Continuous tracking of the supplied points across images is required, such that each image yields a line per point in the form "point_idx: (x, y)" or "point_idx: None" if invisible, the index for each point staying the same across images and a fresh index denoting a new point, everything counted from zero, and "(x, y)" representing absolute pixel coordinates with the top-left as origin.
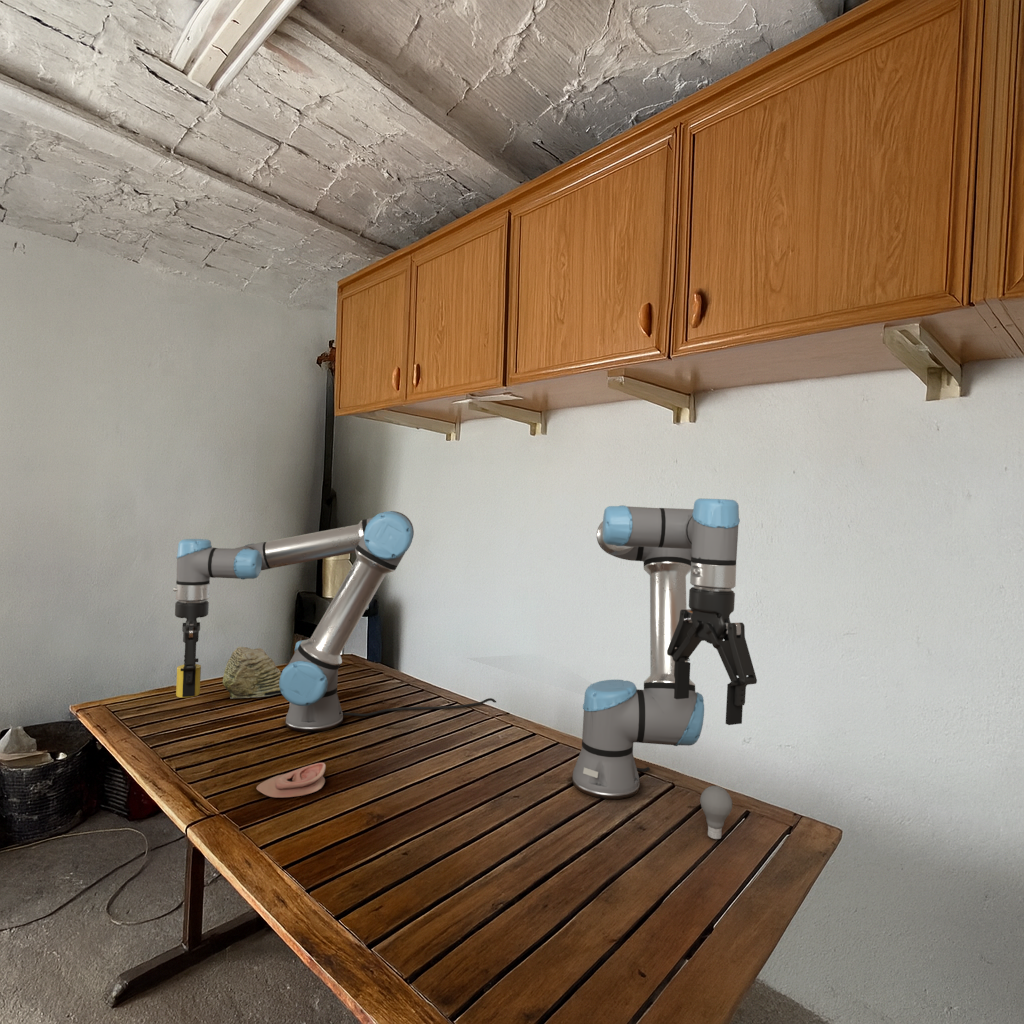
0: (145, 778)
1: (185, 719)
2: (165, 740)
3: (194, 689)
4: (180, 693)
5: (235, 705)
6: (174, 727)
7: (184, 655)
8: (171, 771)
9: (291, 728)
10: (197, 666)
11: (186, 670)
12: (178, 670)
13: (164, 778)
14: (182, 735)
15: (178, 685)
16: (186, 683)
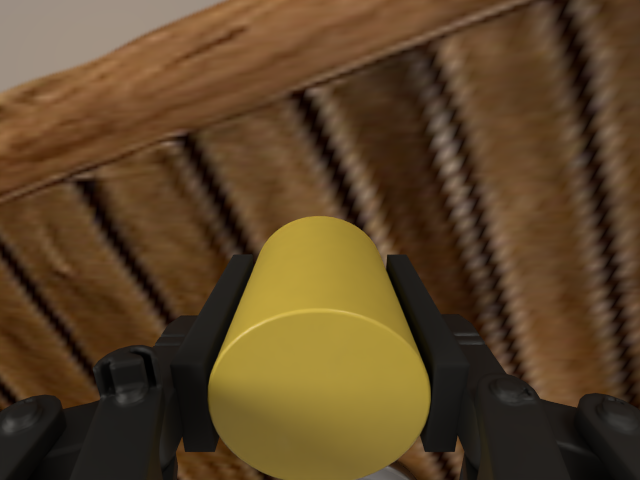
0: (23, 91)
1: (554, 198)
2: (356, 138)
3: None
4: (264, 248)
5: (613, 348)
6: (483, 163)
7: (619, 422)
8: (70, 167)
9: None
10: (304, 464)
11: (96, 401)
12: (261, 312)
13: (17, 149)
14: (385, 192)
15: (271, 255)
16: (177, 321)
